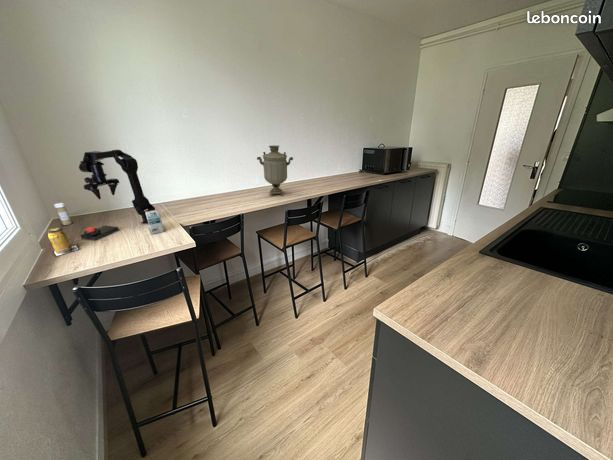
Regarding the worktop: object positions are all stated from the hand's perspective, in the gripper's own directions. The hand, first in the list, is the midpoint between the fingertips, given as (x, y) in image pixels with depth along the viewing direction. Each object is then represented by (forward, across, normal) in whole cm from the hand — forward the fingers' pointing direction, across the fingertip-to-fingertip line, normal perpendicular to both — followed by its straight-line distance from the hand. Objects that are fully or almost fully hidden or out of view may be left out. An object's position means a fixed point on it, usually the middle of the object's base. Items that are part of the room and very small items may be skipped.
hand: (106, 197), depth 161 cm
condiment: (+15, +42, +18) cm, 48 cm away
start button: (+11, +26, +16) cm, 33 cm away
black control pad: (+15, +22, +16) cm, 31 cm away
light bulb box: (+15, +10, +43) cm, 47 cm away
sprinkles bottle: (+15, +15, -20) cm, 29 cm away
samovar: (+15, -82, +86) cm, 120 cm away
